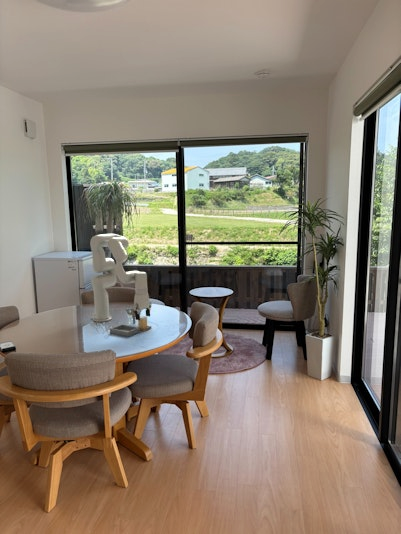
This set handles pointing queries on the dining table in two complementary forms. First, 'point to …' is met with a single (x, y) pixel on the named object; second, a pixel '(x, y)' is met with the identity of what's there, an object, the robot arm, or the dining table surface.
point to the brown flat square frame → (145, 328)
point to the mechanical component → (131, 313)
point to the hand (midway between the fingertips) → (143, 317)
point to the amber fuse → (142, 322)
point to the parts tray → (125, 330)
